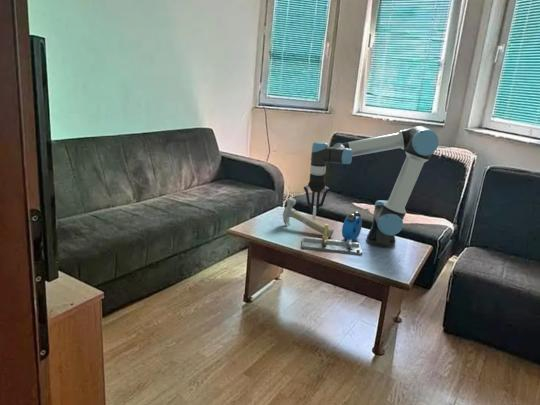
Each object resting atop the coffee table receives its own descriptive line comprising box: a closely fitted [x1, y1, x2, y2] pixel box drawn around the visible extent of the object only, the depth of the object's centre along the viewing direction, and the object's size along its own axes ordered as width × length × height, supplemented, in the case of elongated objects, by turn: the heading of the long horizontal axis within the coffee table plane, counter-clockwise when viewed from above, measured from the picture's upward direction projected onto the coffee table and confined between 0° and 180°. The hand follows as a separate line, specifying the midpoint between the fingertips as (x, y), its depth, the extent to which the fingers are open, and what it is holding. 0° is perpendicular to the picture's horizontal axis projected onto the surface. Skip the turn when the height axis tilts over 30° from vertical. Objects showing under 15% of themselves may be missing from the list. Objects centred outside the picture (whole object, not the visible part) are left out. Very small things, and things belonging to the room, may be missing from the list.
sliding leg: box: [321, 222, 329, 246], centre depth 225 cm, size 2×8×10 cm, turn 175°
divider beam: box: [304, 236, 360, 249], centre depth 225 cm, size 28×8×3 cm, turn 85°
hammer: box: [282, 197, 335, 238], centre depth 245 cm, size 16×5×30 cm
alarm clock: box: [341, 211, 363, 242], centre depth 237 cm, size 13×6×15 cm, turn 146°
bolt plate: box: [301, 238, 363, 256], centre depth 225 cm, size 30×11×2 cm, turn 85°
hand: (313, 219), depth 225 cm, fingers closed
